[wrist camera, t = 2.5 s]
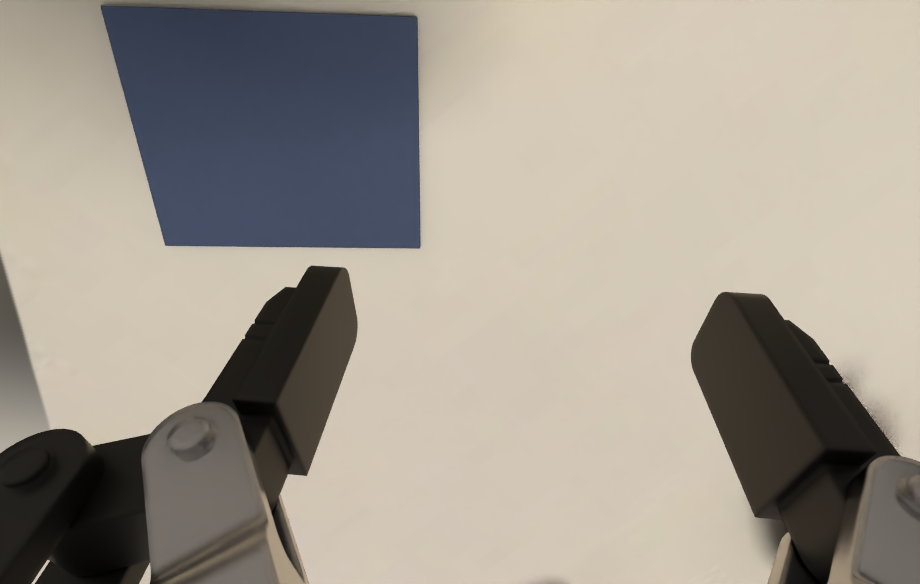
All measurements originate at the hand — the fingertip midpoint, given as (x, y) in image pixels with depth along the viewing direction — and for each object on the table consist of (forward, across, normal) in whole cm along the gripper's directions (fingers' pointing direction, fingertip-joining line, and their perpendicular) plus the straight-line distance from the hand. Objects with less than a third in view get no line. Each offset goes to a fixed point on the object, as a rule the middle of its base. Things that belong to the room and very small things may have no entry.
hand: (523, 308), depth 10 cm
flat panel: (+15, +12, +3) cm, 20 cm away
